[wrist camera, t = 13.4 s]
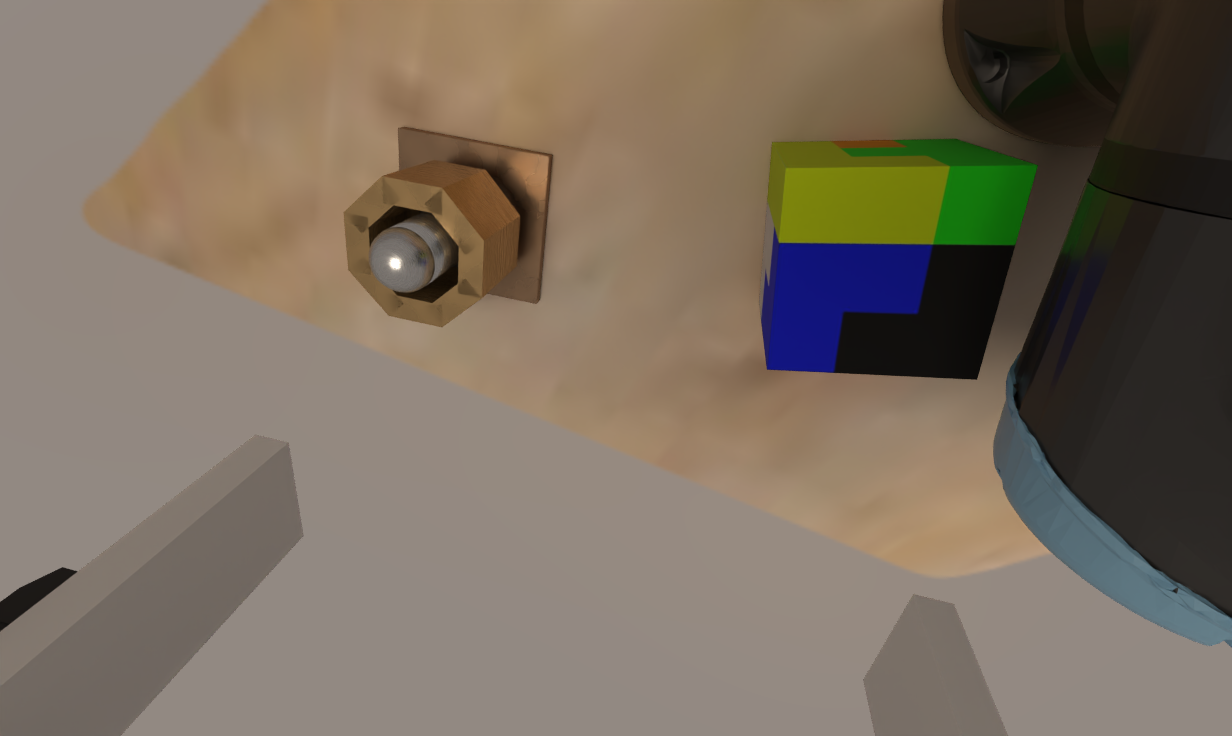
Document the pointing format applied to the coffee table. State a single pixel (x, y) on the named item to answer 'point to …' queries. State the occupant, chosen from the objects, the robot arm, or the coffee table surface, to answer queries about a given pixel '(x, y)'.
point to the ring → (463, 211)
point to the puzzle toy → (887, 254)
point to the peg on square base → (426, 247)
